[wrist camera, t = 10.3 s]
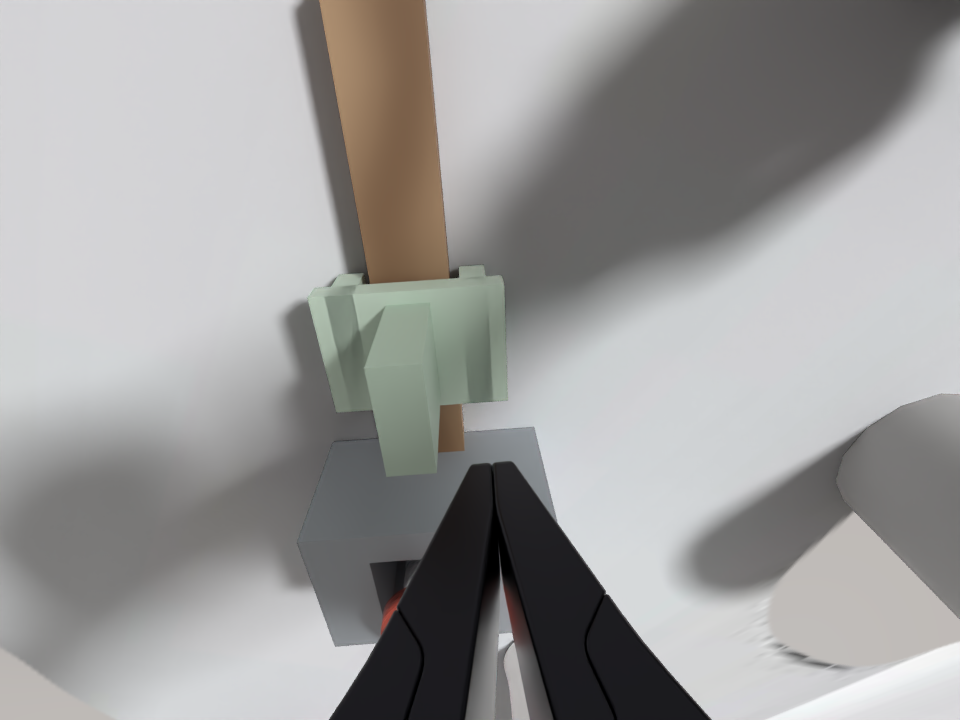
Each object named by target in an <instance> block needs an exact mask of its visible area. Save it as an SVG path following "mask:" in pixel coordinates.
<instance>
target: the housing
mask: <svg viewBox="0 0 960 720" xmlns="http://www.w3.org/2000/svg"><path fill="white" fill-rule="evenodd" d="M464 447H465V451H455V452H441V453H438V459H437V473H432V474H418V475H405V476H391V477H386V472H385V467H384V462H383V457H382V453H381V448H380V443H379V439H365V440H351V441H338V442H333V444H332V446H331V449H330V452H329V455H328V458H327V460H326V463H325V466H324V469H323V471H322V474H321V477H320V480H319V483H318V485H317V488H316V491H315V494H314V496H313V499H312V502H311V505H310V508H309V510H308V513H307V516H306V519H305V521H304V524H303V527H302V530H301V533H300V535H299V538H298V541H297V544H298V547H299V549H300V552H301V555H302V558H303V560H304V563H305V566H306V569H307V571H308V574H309V577H310V580H311V582H312V585H313V588H314V590H315V593H316V596H317V599H318V601H319V604H320V607H321V610H322V612H323V615H324V618H325V621H326V623H327V626H328V629H329V631H330V634H331V637H332V640H333V642H334V645H335V647H336V646H349V645H362V644H374V643H377V642H378V640H379V638H380V636H381V625H382V618H383V611H384V607H385V605H386V603H387V601H388V600H389V599H390V598H391V597H392V596H393V595H394V594H395V593H397V592H398V591H400V590H401V589H403V588H404V578H405V569H406V560H418V559H422V557H423V555H424V553H425V551H426V549H427V547H428V545H429V543H430V541H431V539H432V538H433V536H434V534H435V532H436V530H437V528H438V526H439V524H440V522H441V520H442V518H443V516H444V515H445V513H446V511H447V509H448V507H449V505H450V503H451V501H452V499H453V497H454V495H455V493H456V492H457V490H458V488H459V486H460V484H461V482H462V480H463V478H464V476H465V474H466V472H467V470H468V469H469V467H470V466H471V465H472V464H477V463H490V464H491V465H493V463H494V462H502V461H512V462H514V463H515V464H516V466H517V467H518V469H519V470H520V471H521V473H522V474H523V476H524V477H525V478H526V480H527V481H528V483H529V484H530V486H531V487H532V488H533V490H534V491H535V493H536V494H537V495H538V497H539V498H540V500H541V501H542V502H543V504H544V505H545V507H546V508H547V509H548V511H549V512H550V514H551V515H552V516H553V518H554V519H555V521H556V522H557V519H556V515H555V511H554V506H553V502H552V498H551V494H550V490H549V486H548V482H547V478H546V474H545V469H544V465H543V461H542V457H541V453H540V449H539V445H538V441H537V437H536V433H535V428H534V427H529V428H516V429H502V430H488V431H475V432H464ZM492 471H493V470H492ZM499 557H500V555H499ZM500 573H501V566H500ZM500 633H512V628H511V623H510V618H509V613H508V608H507V603H506V598H505V593H504V588H503V582H502V575H501V591H500V614H499V634H500Z"/></svg>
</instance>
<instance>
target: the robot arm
mask: <svg viewBox="0 0 960 720" xmlns="http://www.w3.org/2000/svg"><path fill="white" fill-rule="evenodd" d="M492 470H493V471H492ZM499 555H500V557H499ZM500 566H501V573H500ZM501 575H502V582H503V588H504V593H505V598H506V603H507V608H508V613H509V618H510V623H511V628H512V633H513V638H514V643H515V648H516V653H517V658H518V663H519V668H520V673H521V678H522V683H523V688H524V693H525V698H526V703H527V708H528V713H529V718H530V720H711V718H710V717H709V716H708V715H707V714H706V713H705V712H704V711H703V709H702V708H701V707H700V706H699V705H698V704H697V703H696V702H695V700H694V699H693V698H692V697H691V696H690V695H689V694H688V693H687V691H686V690H685V689H684V688H683V687H682V686H681V685H680V684H679V682H678V681H677V680H676V679H675V678H674V677H673V676H672V675H671V674H670V672H669V671H668V670H667V669H666V668H665V666H664V665H663V664H662V663H661V662H660V661H659V659H658V658H657V657H656V656H655V655H654V653H653V652H652V651H651V650H650V649H649V648H648V646H647V645H646V644H645V643H644V642H643V640H642V639H641V638H640V636H639V635H638V634H637V632H636V631H635V630H634V629H633V627H632V626H631V625H630V623H629V622H628V621H627V619H626V618H625V617H624V615H623V614H622V613H621V611H620V610H619V608H618V607H617V606H616V604H615V603H614V601H613V600H612V599H611V597H610V596H609V595H608V594H606V591H605V589H604V588H603V586H602V585H601V584H600V582H599V581H598V579H597V578H596V577H595V575H594V574H593V572H592V571H591V570H590V568H589V567H588V565H587V564H586V563H585V561H584V560H583V558H582V557H581V556H580V554H579V553H578V551H577V550H576V549H575V547H574V546H573V544H572V543H571V542H570V540H569V539H568V537H567V536H566V535H565V533H564V532H563V530H562V529H561V528H560V526H559V525H558V523H557V522H556V521H555V519H554V518H553V516H552V515H551V514H550V512H549V511H548V509H547V508H546V507H545V505H544V504H543V502H542V501H541V500H540V498H539V497H538V495H537V494H536V493H535V491H534V490H533V488H532V487H531V486H530V484H529V483H528V481H527V480H526V478H525V477H524V476H523V474H522V473H521V471H520V470H519V469H518V467H517V466H516V464H515V463H514V462H512V461H502V462H494V463H493V465H491V464H490V463H477V464H472V465H471V466H470V467H469V469H468V470H467V472H466V474H465V476H464V478H463V480H462V482H461V484H460V486H459V488H458V490H457V492H456V493H455V495H454V497H453V499H452V501H451V503H450V505H449V507H448V509H447V511H446V513H445V515H444V516H443V518H442V520H441V522H440V524H439V526H438V528H437V530H436V532H435V534H434V536H433V538H432V539H431V541H430V543H429V545H428V547H427V549H426V551H425V553H424V555H423V557H422V559H421V560H420V562H419V564H418V566H417V568H416V570H415V572H414V574H413V576H412V578H411V580H410V582H409V583H408V585H407V587H406V589H405V591H404V593H403V595H402V597H401V599H400V601H399V603H398V605H397V607H396V608H397V610H395V611H394V612H393V614H392V616H391V618H390V619H389V621H388V623H387V625H386V627H385V629H384V631H383V633H382V635H381V636H380V638H379V640H378V642H377V643H376V645H375V647H374V649H373V651H372V652H371V654H370V656H369V658H368V660H367V661H366V663H365V665H364V666H363V668H362V669H361V671H360V672H359V674H358V676H357V677H356V679H355V680H354V682H353V684H352V685H351V687H350V688H349V690H348V691H347V693H346V695H345V696H344V698H343V699H342V701H341V702H340V704H339V705H338V707H337V708H336V710H335V711H334V713H333V714H332V716H331V717H330V719H329V720H495V707H496V684H497V661H498V637H499V614H500V591H501Z"/></svg>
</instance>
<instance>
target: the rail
mask: <svg viewBox="0 0 960 720" xmlns="http://www.w3.org/2000/svg"><path fill="white" fill-rule="evenodd" d="M319 2H320V8H321V13H322V19H323V25H324V30H325V36H326V41H327V47H328V52H329V58H330V63H331V69H332V75H333V80H334V86H335V91H336V97H337V102H338V108H339V114H340V119H341V125H342V130H343V136H344V141H345V147H346V153H347V158H348V164H349V169H350V175H351V180H352V186H353V192H354V197H355V203H356V208H357V214H358V219H359V225H360V231H361V236H362V242H363V247H364V253H365V258H366V264H367V269H368V275H369V281H370V284H379V283H393V282H408V281H423V280H437V279H450V270H449V259H448V248H447V237H446V226H445V214H444V203H443V192H442V181H441V170H440V159H439V148H438V137H437V126H436V115H435V103H434V92H433V81H432V70H431V59H430V48H429V37H428V26H427V15H426V3H425V0H319ZM455 451H465V447H464V425H463V414H462V404H452V405H440V419H439V439H438V453H441V452H455Z"/></svg>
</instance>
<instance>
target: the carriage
mask: <svg viewBox="0 0 960 720" xmlns="http://www.w3.org/2000/svg"><path fill="white" fill-rule="evenodd" d="M307 299H308V303H309V307H310V311H311V315H312V319H313V323H314V326H315V330H316V334H317V338H318V342H319V346H320V350H321V354H322V358H323V362H324V366H325V370H326V374H327V378H328V382H329V386H330V390H331V394H332V398H333V401H334V405H335V409H336V413H341V412H355V411H369V410H373V414H374V418H375V423H376V428H377V433H378V438H379V443H380V448H381V453H382V457H383V462H384V467H385V472H386V477H391V476H405V475H418V474H432V473H437V459H438V439H439V419H440V405H452V404H466V403H479V402H493V401H507V400H508V392H507V359H506V327H505V294H504V282H503V278H502V275H496V276H486V275H485V269H484V265H473V266H459V278H452V279H437V280H423V281H408V282H393V283H379V284H366V281H365V275H364V273H355V274H340V275H338V277H337V278H336V280H335V281H334V283H333V284H332V286H331V287H320V288H314V289H313V291H312V292H311V293H310V295H309V296H308V297H307Z"/></svg>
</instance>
